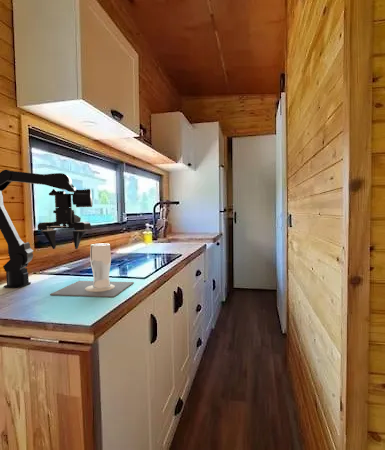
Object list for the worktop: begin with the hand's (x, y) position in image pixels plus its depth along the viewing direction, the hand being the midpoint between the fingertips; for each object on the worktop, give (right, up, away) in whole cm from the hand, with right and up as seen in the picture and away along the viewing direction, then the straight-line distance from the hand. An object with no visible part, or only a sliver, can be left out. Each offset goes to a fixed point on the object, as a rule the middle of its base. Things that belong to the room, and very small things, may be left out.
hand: (65, 248), depth 115 cm
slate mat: (+14, -13, -8) cm, 21 cm away
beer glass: (+16, -13, -8) cm, 22 cm away
